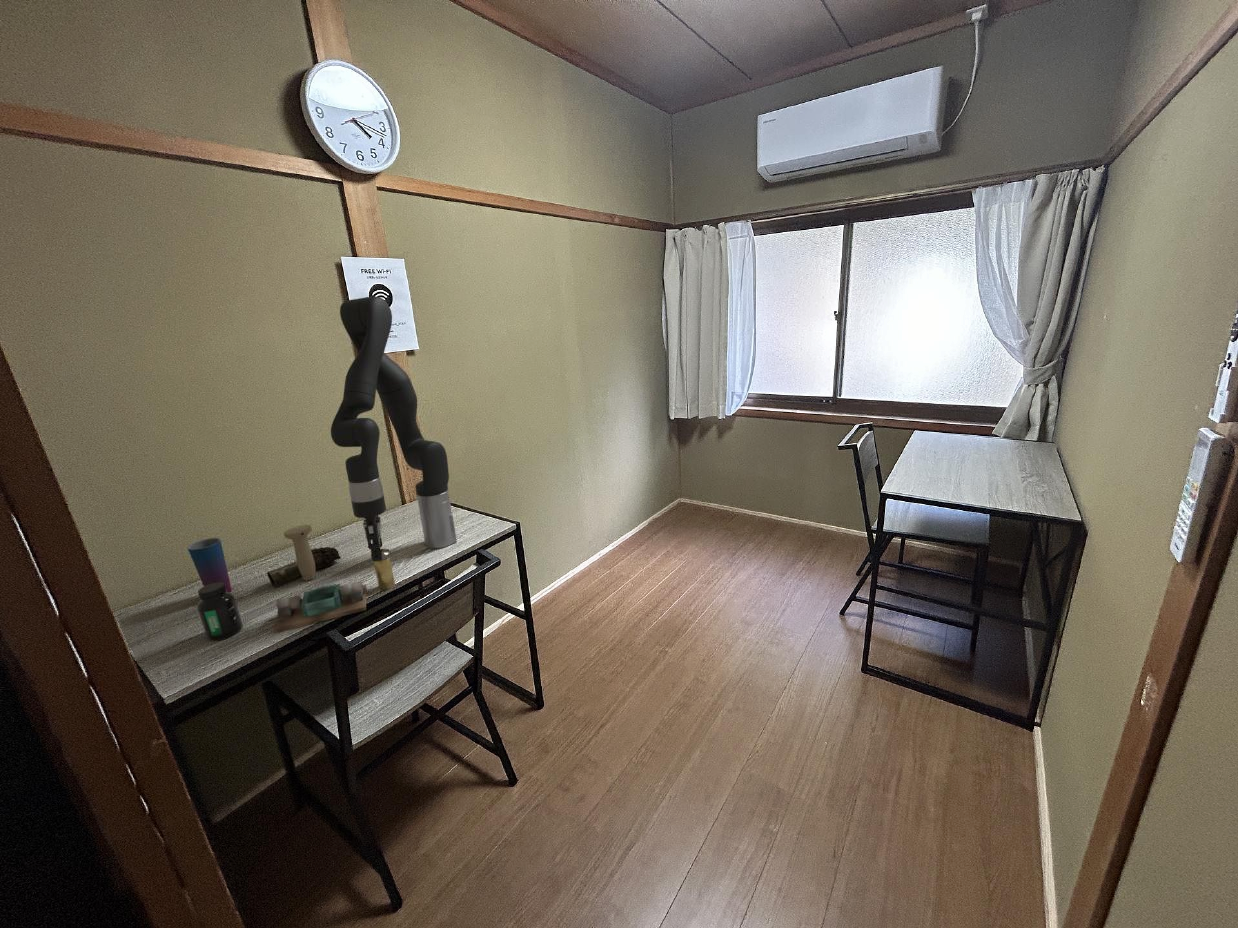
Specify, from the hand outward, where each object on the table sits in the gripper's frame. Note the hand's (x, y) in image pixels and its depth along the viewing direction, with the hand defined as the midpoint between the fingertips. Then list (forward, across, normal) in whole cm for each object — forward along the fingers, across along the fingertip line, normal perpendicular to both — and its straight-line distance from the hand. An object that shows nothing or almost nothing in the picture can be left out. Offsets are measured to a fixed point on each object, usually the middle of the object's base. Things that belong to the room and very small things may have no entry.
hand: (377, 553), depth 132 cm
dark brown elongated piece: (+10, +20, +20) cm, 31 cm away
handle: (+10, +15, +19) cm, 27 cm away
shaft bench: (+10, -4, +14) cm, 18 cm away
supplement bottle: (+11, -4, +34) cm, 36 cm away
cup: (+11, +17, +40) cm, 45 cm away
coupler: (+10, 0, -1) cm, 10 cm away
